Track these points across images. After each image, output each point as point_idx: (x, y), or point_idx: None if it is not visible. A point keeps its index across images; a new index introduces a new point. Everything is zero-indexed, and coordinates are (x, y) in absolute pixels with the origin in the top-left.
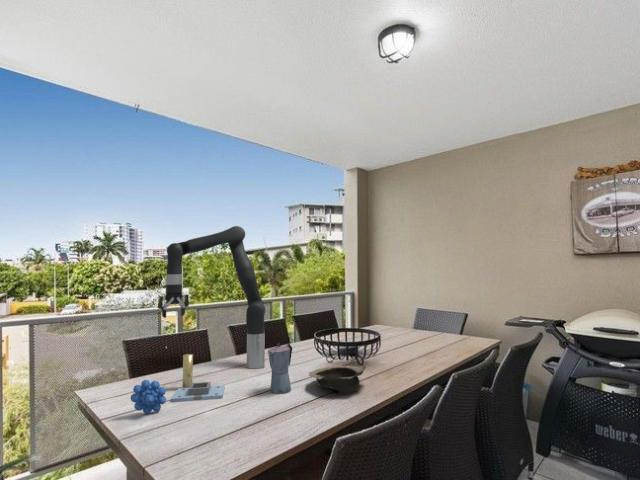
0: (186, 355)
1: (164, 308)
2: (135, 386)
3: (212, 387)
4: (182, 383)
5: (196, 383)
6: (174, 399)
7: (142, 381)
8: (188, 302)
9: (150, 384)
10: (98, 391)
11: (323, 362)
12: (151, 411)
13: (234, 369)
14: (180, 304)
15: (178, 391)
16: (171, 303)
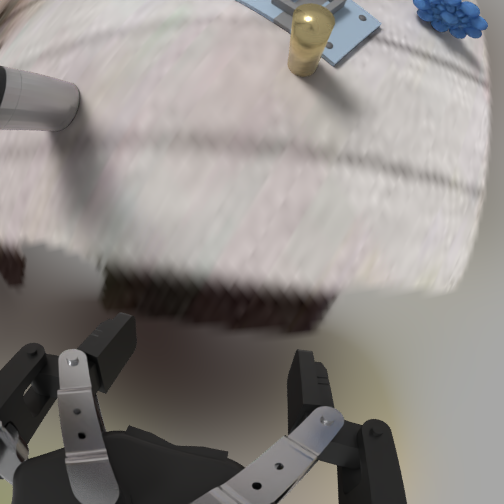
0: (322, 19)
1: (335, 418)
2: (486, 22)
3: (265, 2)
4: (316, 66)
5: None
6: (375, 20)
7: (479, 11)
8: (6, 367)
9: (461, 2)
10: (443, 254)
11: (3, 50)
12: (431, 21)
13: (103, 120)
14: (95, 403)
15: (346, 44)
16: (225, 463)
